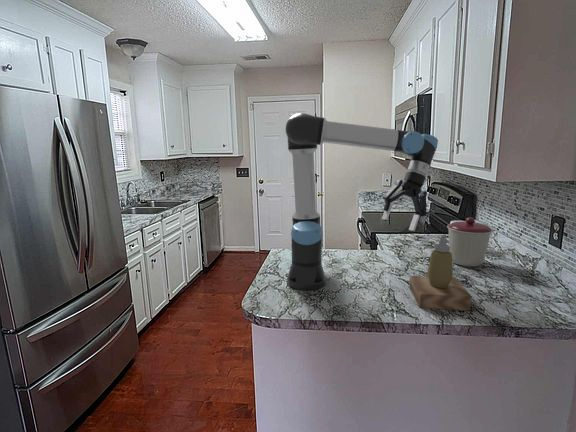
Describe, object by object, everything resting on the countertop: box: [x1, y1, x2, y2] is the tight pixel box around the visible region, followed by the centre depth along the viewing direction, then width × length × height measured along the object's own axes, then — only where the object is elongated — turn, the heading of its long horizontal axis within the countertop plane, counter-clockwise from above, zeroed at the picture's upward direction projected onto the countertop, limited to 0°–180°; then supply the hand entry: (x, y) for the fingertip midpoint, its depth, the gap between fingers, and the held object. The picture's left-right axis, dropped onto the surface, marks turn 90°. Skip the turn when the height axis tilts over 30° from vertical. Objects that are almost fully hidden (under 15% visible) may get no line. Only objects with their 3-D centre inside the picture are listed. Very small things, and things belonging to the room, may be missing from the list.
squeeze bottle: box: [426, 234, 453, 288], centre depth 121 cm, size 8×8×18 cm
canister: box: [446, 217, 494, 267], centre depth 157 cm, size 18×18×21 cm
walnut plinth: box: [409, 275, 473, 311], centre depth 123 cm, size 16×16×5 cm
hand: (398, 225), depth 138 cm, fingers open, 13 cm apart
